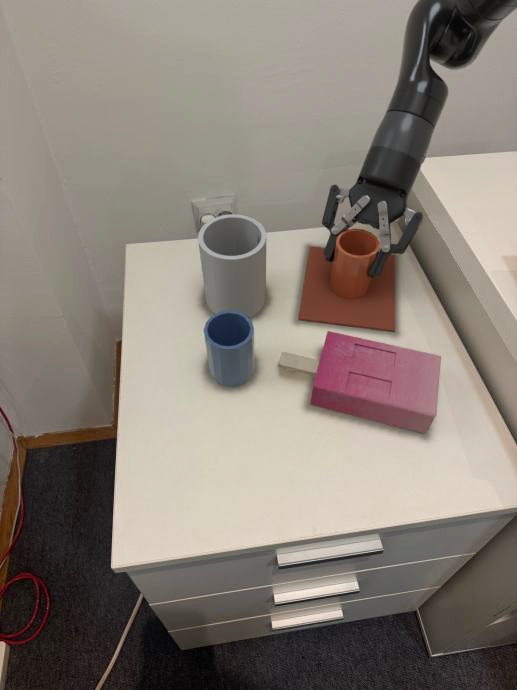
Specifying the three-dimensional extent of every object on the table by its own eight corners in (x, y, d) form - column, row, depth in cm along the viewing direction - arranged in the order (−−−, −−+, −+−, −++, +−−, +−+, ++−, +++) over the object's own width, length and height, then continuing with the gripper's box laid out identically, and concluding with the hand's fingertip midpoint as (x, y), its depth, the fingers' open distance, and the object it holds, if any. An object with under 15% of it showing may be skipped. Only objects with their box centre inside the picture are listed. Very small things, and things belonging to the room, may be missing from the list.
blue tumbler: (257, 353, 68) (257, 313, 61) (249, 389, 64) (248, 351, 58) (215, 347, 69) (210, 307, 62) (205, 383, 65) (198, 345, 58)
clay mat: (394, 257, 80) (394, 255, 79) (394, 332, 70) (395, 330, 70) (309, 247, 81) (309, 246, 81) (298, 320, 72) (298, 318, 71)
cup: (193, 301, 74) (184, 240, 64) (231, 268, 78) (227, 206, 69) (241, 329, 71) (238, 269, 61) (277, 292, 75) (279, 231, 65)
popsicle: (270, 395, 64) (425, 434, 60) (271, 375, 60) (436, 415, 57) (287, 342, 69) (430, 375, 66) (289, 320, 65) (441, 354, 62)
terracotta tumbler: (369, 273, 77) (380, 231, 70) (368, 301, 73) (379, 259, 67) (331, 269, 78) (337, 226, 71) (328, 296, 74) (334, 254, 67)
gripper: (343, 132, 66) (298, 249, 69) (447, 161, 62) (394, 285, 65) (352, 149, 73) (311, 255, 76) (446, 177, 69) (398, 288, 72)
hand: (349, 268), depth 71 cm, fingers closed on terracotta tumbler, 6 cm apart
